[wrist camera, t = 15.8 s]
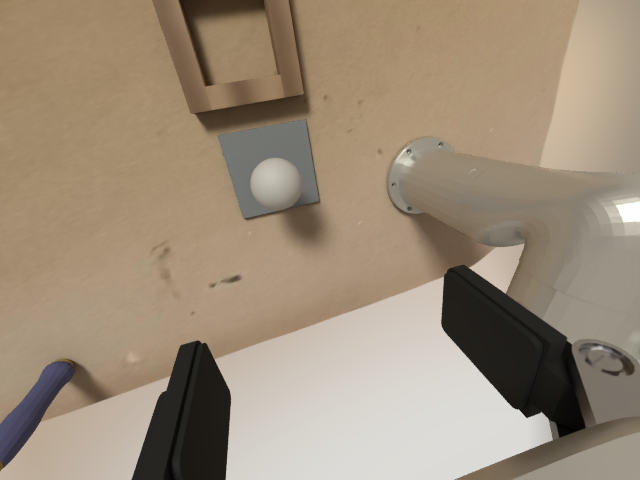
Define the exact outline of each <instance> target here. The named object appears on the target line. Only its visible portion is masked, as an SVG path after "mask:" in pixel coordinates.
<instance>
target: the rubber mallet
mask: <svg viewBox="0 0 640 480" xmlns="http://www.w3.org/2000/svg"><path fill="white" fill-rule="evenodd" d="M73 374H74V364H73V362H71V361H69V360H66V359H60V360H57V361H55V362H53V363H51V364H49V365H48V366H46V367H45V369H44V370H43V372H42V374H41V376H40V378H39V380H38V381H37V383H36V384H35V385H34V386H33V388H32V389H31V390H30V392H29V393H28V394H27V395H26V397H25V398H24V399H23V400H22V402H21V403H20V404H19V405H18V406H17V407H16V408H15V409H14V410H13V411H12V412H11V413H10V414H9V415H8V416H7V417H6V418H5V419H4V420H3V422H2V423H1V424H0V471H1V469H2V468H4V467H5V466H6V465H7V464H8V463H9V462H10V461H11V460H12V459H13V458H14V457H15V456H16V454H17V453H18V452H19V451H20V449H21V448H22V447H23V446H24V444H25V443H26V442H27V440H28V439H29V438H30V436H31V435H32V434H33V432H34V431H35V429H36V428H37V426H38V425H39V423H40V421H41V419H42V417H43V415H44V413H45V411H46V410H47V408H48V407H49V405H50V404H51V402H52V401H53V400H54V398H55V397H56V395H57V394H58V392H59V391H60V390H61V388H62V387H63V386H64V385H65V384H66V383H67V382H69V381H70V379H71V378H72V376H73Z"/></svg>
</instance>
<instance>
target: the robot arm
mask: <svg viewBox="0 0 640 480" xmlns="http://www.w3.org/2000/svg"><path fill="white" fill-rule="evenodd" d="M392 183H393V184H392ZM387 189H388V194H389V196H390V199H391V200H392V202H393V203H394V204H395V205H396V206H397V207H398V208H399V209H401V210H403V211H404V212H407V213H411V214H421V213H427V214H429V215H430V216H432V217H434V218H436V219H438V220H439V221H441V222H443V223H445V224H446V225H448V226H450V227H452V228H454V229H455V230H457V231H459V232H461V233H463V234H464V235H466V236H468V237H470V238H472V239H474V240H475V241H477V242H479V243H482V244H485V245H488V246H494V247H507V246H514V245H519V244H524V243H525V245H524V249H523V252H522V254H521V257H520V259H519V264H518V266H517V269H516V271H515V273H514V276H513V278H512V280H511V283H510V285H509V287H508V290H507V292H506V294H505V293H503V292H502V291H501V290H499V289H498V288H497V287H495V286H493V285H492V284H491V283H489V282H488V281H486V280H485V279H484V278H482V277H481V276H479V275H478V274H477V273H475V272H474V271H472V270H471V269H469V268H468V267H467V266H465V265H460V266H457V267H453V268H450V269H448V270H447V273H446V274H445V275H444V287H443V304H442V305H443V306H442V320H441V324H442V328H443V330H444V331H445V332H446V333H447V335H448V336H449V337H450V338H451V339H452V340H453V341H454V342H455V343H456V345H457V346H458V347H459V348H460V349H461V350H462V352H463V353H464V354H465V355H466V356H467V357H468V358H469V359H470V360H471V362H472V363H473V364H474V365H475V366H476V367H477V368H478V369H479V370H480V372H481V373H482V374H483V375H484V376H485V377H486V378H487V379H488V381H489V382H490V383H491V384H492V385H493V386H494V387H495V388H496V389H497V390H498V392H499V393H500V394H501V395H502V396H503V397H504V398H505V400H506V401H507V402H508V403H509V404H510V405H511V406H512V407H513V408H515V409H519V410H520V411H521V412H522V413H523V414H524V416H525V417H526V418H528V417H531V416H534V415H536V414H539V413H541V412H542V413H543V414H544V415H545V416H546V417H547V418H548V419H549V423H550V428H551V432H552V438H553V441H550V442H548V443H545V444H542V445H540V446H537V447H535V448H532V449H530V450H528V451H525V452H523V453H520V454H517V455H515V456H512V457H510V458H507V459H505V460H502V461H500V462H497V463H495V464H492V465H490V466H487V467H485V468H482V469H480V470H477V471H475V472H472V473H470V474H467V475H465V476H462V477H460V478H457V479H455V480H640V174H636V173H610V172H581V171H569V170H556V169H549V168H541V167H535V166H528V165H523V164H517V163H511V162H505V161H499V160H494V159H488V158H483V157H477V156H472V155H467V154H461V153H456V152H454V150H453V148H452V147H451V146H450V145H449V144H448V143H447V142H445V141H444V140H441V139H439V138H434V137H424V138H419V139H417V140H414V141H412V142H410V143H409V144H407V145H406V146H405V147H404V148H403V149H401V150H400V151H399V153H398V154H397V155H396V157H395V158H394V160H393V162H392V164H391V166H390V169H389V172H388V177H387ZM230 406H231V395H230V391H229V388H228V386H227V384H226V382H225V380H224V378H223V376H222V374H221V372H220V370H219V368H218V366H217V364H216V362H215V360H214V358H213V356H212V354H211V352H210V350H209V348H208V346H207V344H206V343H203V344H201V342H200V341H194V342H191V343H187V344H184V345H181V346H180V348H179V351H178V354H177V357H176V361H175V364H174V367H173V371H172V374H171V377H170V381H169V384H168V387H167V391H165V392H162V394H161V395H160V396H159V398H158V401H157V404H156V407H155V410H154V413H153V416H152V419H151V422H150V425H149V428H148V431H147V434H146V437H145V441H144V443H143V447H142V450H141V453H140V456H139V459H138V462H137V465H136V469H135V471H134V475H133V477H132V480H225V479H226V465H227V451H228V436H229V421H230Z"/></svg>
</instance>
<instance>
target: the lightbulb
mask: <svg viewBox="0 0 640 480" xmlns="http://www.w3.org/2000/svg"><path fill="white" fill-rule="evenodd" d="M250 184H251V191H252V194H253V196H254V198H255V199H256V200H257V201H258V202H259V203H260V204H261V205H262V206H264V207H265V208H268V209H271V210H283V209H286V208H289V207H290V206H292V205H293V204H294V203H295V202H296V201H297V200H298V199H299V197H300V195H301V192H302V178H301V175H300V173H299V171H298V169H297V168H296V167H295V166H294V165H293V164H292V163H290V162H289V161H287V160H285V159H281V158H270V159H267V160H264V161H263V162H261V163H260V164H259V165H258V166H257V167H256V168H255V169H254V171H253V173H252V176H251V181H250Z"/></svg>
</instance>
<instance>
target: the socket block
mask: <svg viewBox="0 0 640 480" xmlns="http://www.w3.org/2000/svg"><path fill="white" fill-rule="evenodd" d="M152 1H153V4H154V7H155V10H156V13H157V16H158V19H159V22H160V25H161V28H162V30H163V33H164V36H165V39H166V42H167V45H168V48H169V51H170V54H171V57H172V60H173V63H174V66H175V68H176V71H177V74H178V77H179V80H180V83H181V86H182V89H183V92H184V95H185V98H186V101H187V104H188V106H189V109H190V112H191V114H196V113H202V112H208V111H214V110H219V109H225V108H231V107H237V106H242V105H248V104H254V103H260V102H265V101H271V100H277V99H283V98H288V97H294V96H300V95H303V94H304V92H303V86H302V79H301V73H300V67H299V61H298V55H297V49H296V43H295V37H294V31H293V25H292V19H291V12H290V6H289V0H263V2H264V7H265V12H266V17H267V22H268V27H269V32H270V37H271V42H272V47H273V52H274V58H275V63H276V68H277V73H278V75H274V76H268V77H262V78H256V79H249V80H243V81H237V82H231V83H225V84H218V85H212V86H207V84H206V81H205V77H204V74H203V71H202V68H201V64H200V61H199V58H198V54H197V51H196V48H195V45H194V41H193V38H192V35H191V31H190V28H189V25H188V22H187V18H186V15H185V12H184V8H183V5H182V2H181V0H152Z"/></svg>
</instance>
